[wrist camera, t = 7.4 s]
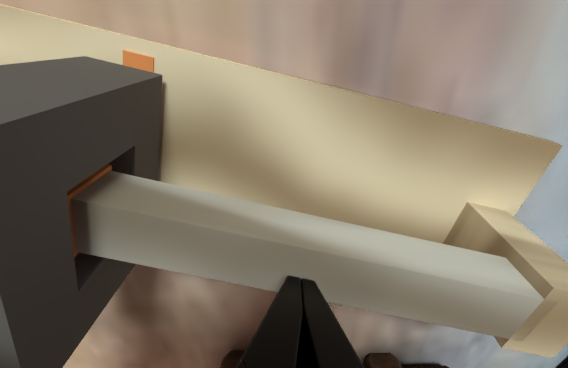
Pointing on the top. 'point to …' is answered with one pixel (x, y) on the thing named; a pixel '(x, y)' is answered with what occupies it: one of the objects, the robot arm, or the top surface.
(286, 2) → the top surface
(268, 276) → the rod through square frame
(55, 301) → the grey square collar
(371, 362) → the bolt
